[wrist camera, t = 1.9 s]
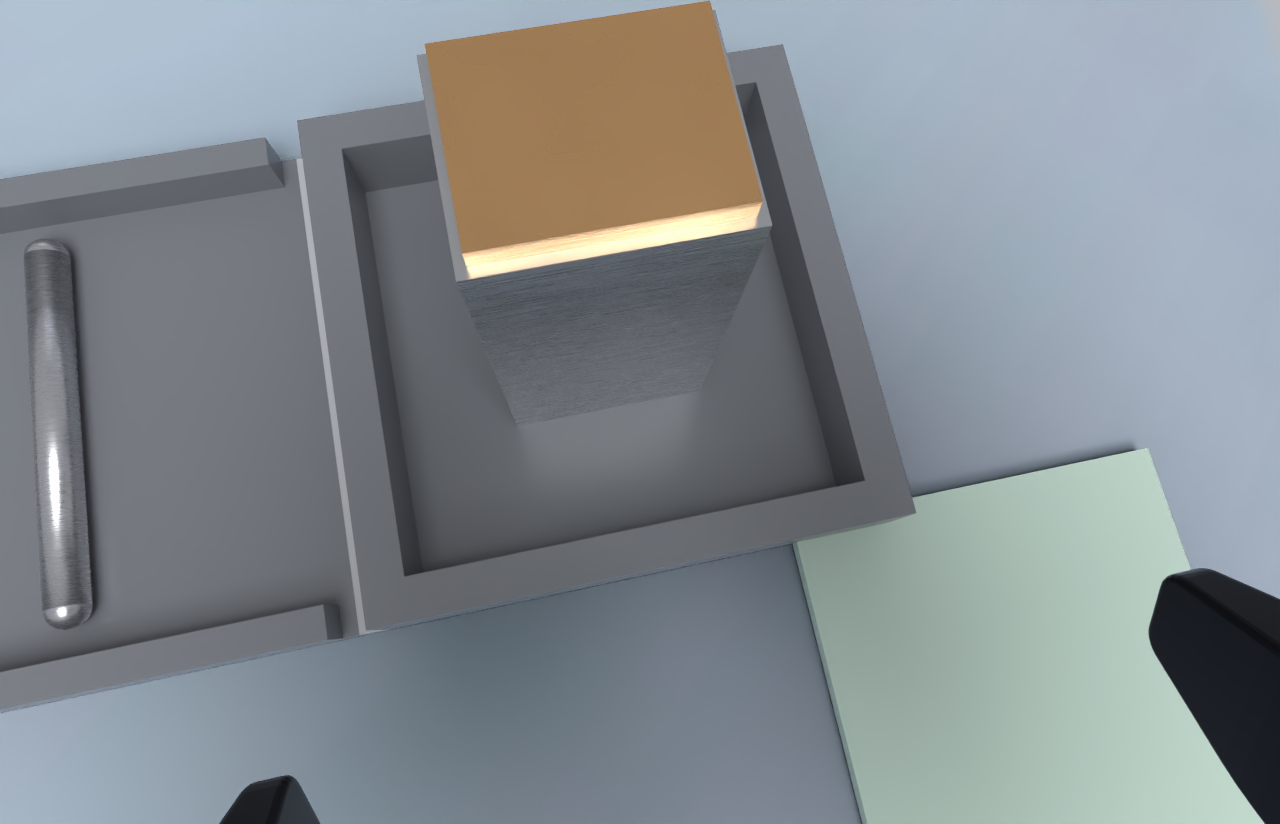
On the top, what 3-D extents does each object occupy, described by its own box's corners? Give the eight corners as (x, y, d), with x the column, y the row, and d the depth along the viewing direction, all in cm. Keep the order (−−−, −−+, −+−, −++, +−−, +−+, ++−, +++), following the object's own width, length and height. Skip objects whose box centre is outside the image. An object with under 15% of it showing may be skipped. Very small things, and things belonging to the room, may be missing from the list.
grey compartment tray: (882, 524, 23) (916, 512, 20) (-184, 752, 20) (-291, 770, 18) (765, 98, 26) (782, 44, 23) (-181, 252, 23) (-272, 209, 21)
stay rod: (103, 624, 20) (78, 624, 19) (60, 633, 20) (32, 634, 19) (77, 245, 23) (54, 228, 22) (38, 251, 23) (13, 235, 22)
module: (700, 390, 23) (778, 210, 13) (517, 426, 23) (450, 267, 12) (668, 256, 24) (718, -12, 14) (491, 287, 24) (409, 35, 13)
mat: (1271, 837, 21) (1286, 842, 21) (890, 936, 20) (897, 944, 20) (1136, 451, 24) (1147, 447, 23) (788, 524, 23) (792, 523, 22)
